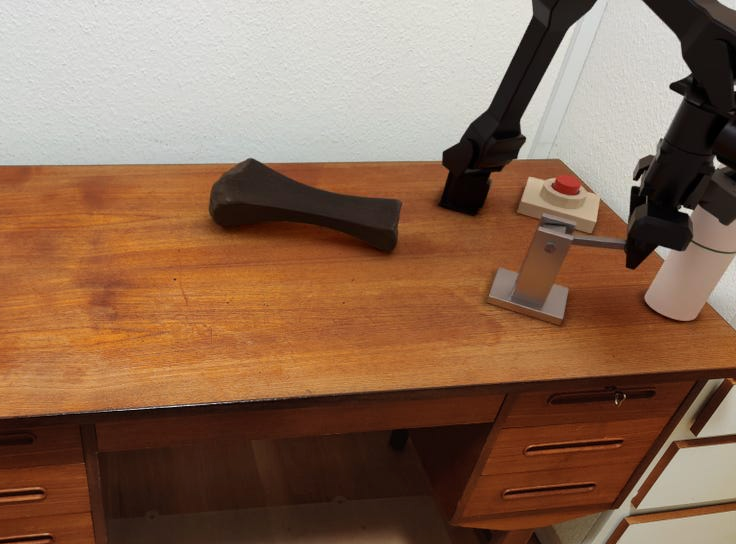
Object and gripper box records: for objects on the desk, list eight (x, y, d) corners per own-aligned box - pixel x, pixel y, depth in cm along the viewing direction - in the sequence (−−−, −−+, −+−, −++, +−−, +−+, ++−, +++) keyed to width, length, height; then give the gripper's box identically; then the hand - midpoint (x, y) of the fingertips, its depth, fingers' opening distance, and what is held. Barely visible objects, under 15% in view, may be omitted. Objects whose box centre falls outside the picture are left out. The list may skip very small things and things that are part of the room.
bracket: (565, 294, 103) (599, 222, 95) (559, 325, 97) (595, 252, 89) (495, 273, 105) (523, 201, 98) (486, 302, 100) (514, 228, 92)
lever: (649, 252, 92) (654, 230, 90) (648, 265, 90) (654, 242, 88) (541, 241, 97) (544, 219, 95) (538, 253, 95) (541, 231, 93)
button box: (516, 212, 119) (524, 191, 117) (524, 187, 127) (532, 166, 124) (591, 233, 117) (601, 212, 114) (595, 206, 124) (605, 185, 121)
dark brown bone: (203, 232, 110) (381, 281, 110) (205, 195, 100) (401, 249, 101) (221, 173, 114) (393, 220, 114) (226, 132, 104) (414, 184, 104)
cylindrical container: (692, 300, 105) (796, 133, 89) (700, 326, 100) (812, 154, 84) (642, 286, 106) (735, 119, 91) (646, 311, 101) (747, 138, 85)
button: (551, 192, 118) (554, 182, 117) (553, 182, 121) (557, 172, 120) (576, 199, 117) (580, 189, 116) (578, 188, 120) (582, 179, 119)
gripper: (777, 199, 73) (699, 319, 84) (760, 132, 86) (695, 243, 97) (661, 169, 76) (600, 289, 86) (662, 109, 89) (609, 219, 100)
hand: (630, 259), depth 92 cm, fingers open, 4 cm apart
